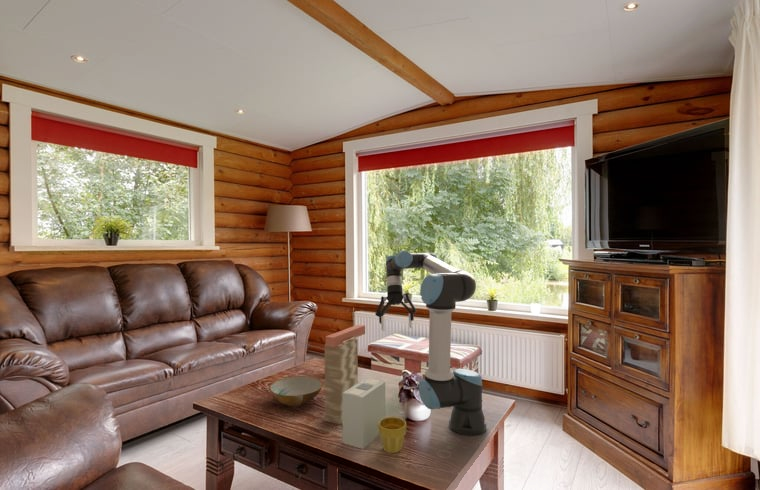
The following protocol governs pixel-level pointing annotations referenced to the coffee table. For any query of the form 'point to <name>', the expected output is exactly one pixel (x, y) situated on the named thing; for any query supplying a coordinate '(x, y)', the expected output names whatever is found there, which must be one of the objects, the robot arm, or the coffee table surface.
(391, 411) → the coffee table surface
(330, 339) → the coral square-faced block
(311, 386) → the bowl
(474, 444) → the coffee table surface
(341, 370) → the birch stand
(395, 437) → the plant pot
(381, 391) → the pale green paneled block
